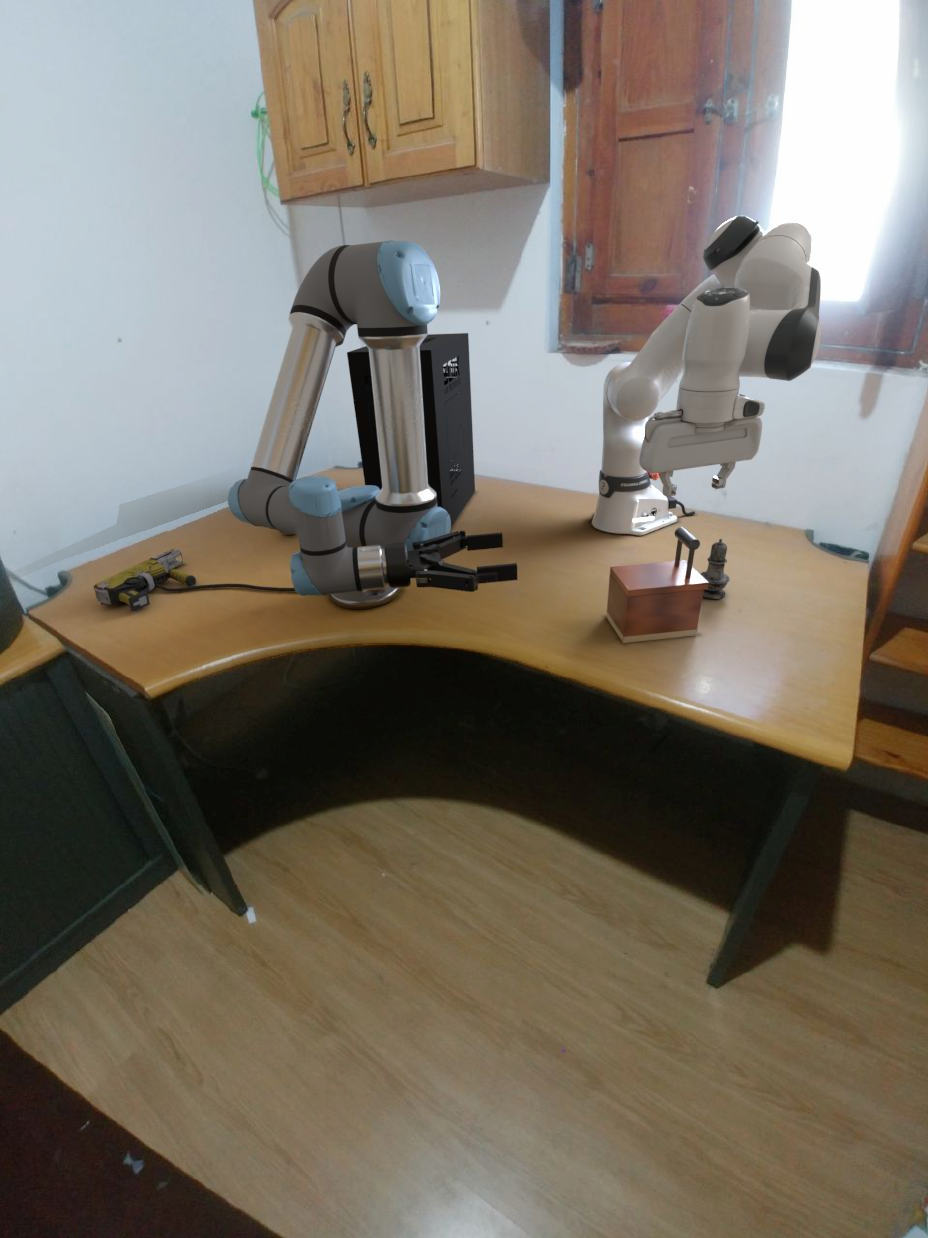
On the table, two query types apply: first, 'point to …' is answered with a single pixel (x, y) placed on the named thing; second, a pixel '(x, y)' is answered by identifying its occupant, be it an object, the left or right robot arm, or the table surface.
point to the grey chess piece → (716, 571)
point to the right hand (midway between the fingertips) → (693, 491)
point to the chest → (653, 614)
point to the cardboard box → (427, 418)
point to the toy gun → (141, 581)
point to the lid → (662, 572)
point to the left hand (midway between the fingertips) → (509, 554)
